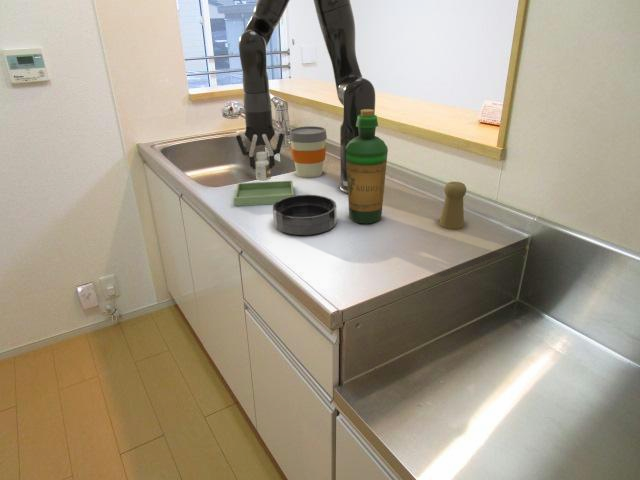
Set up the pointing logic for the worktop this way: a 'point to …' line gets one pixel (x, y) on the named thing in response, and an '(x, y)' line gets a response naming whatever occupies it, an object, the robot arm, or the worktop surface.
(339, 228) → the worktop surface
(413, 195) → the worktop surface
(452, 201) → the cork
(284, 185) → the tray
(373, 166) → the bottle
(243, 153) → the robot arm
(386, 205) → the worktop surface
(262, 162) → the pill bottle
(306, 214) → the pan
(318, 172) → the reusable coffee cup
